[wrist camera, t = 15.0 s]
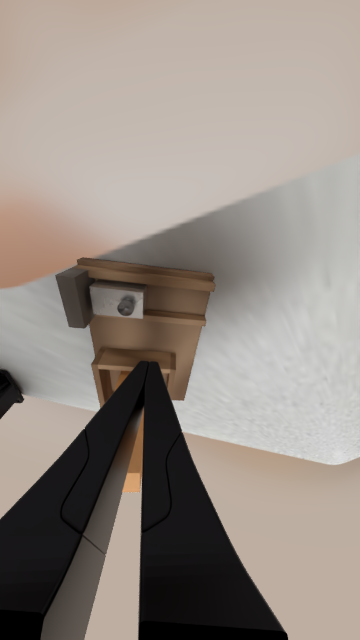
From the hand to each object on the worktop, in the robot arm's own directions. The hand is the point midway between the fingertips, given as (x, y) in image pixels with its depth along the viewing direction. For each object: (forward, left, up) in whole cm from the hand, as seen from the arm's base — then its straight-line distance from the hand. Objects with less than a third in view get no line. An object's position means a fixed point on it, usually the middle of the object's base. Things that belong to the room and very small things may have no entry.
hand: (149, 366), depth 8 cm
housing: (-1, -7, -10) cm, 12 cm away
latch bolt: (-3, 0, -8) cm, 9 cm away
